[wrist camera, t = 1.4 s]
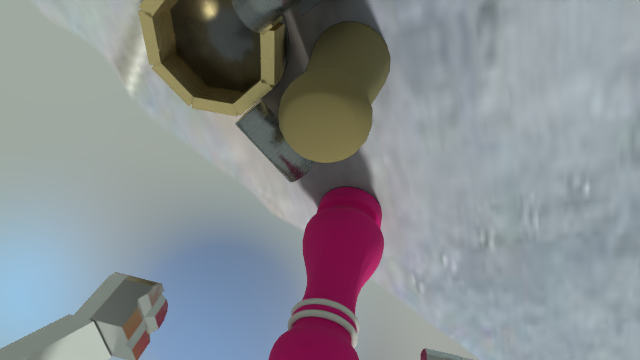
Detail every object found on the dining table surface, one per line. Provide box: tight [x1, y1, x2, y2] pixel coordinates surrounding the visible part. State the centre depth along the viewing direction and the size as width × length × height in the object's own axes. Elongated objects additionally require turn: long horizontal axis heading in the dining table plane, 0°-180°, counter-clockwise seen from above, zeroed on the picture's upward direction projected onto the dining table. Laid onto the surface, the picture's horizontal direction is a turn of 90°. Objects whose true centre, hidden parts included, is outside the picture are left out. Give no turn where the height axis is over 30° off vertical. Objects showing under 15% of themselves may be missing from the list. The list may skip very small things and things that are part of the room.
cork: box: [278, 22, 390, 163], centre depth 23 cm, size 6×6×11 cm
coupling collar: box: [138, 0, 289, 116], centre depth 27 cm, size 10×10×3 cm
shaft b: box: [236, 100, 314, 182], centre depth 28 cm, size 6×4×6 cm, turn 40°
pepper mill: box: [269, 187, 384, 360], centre depth 28 cm, size 7×7×20 cm
